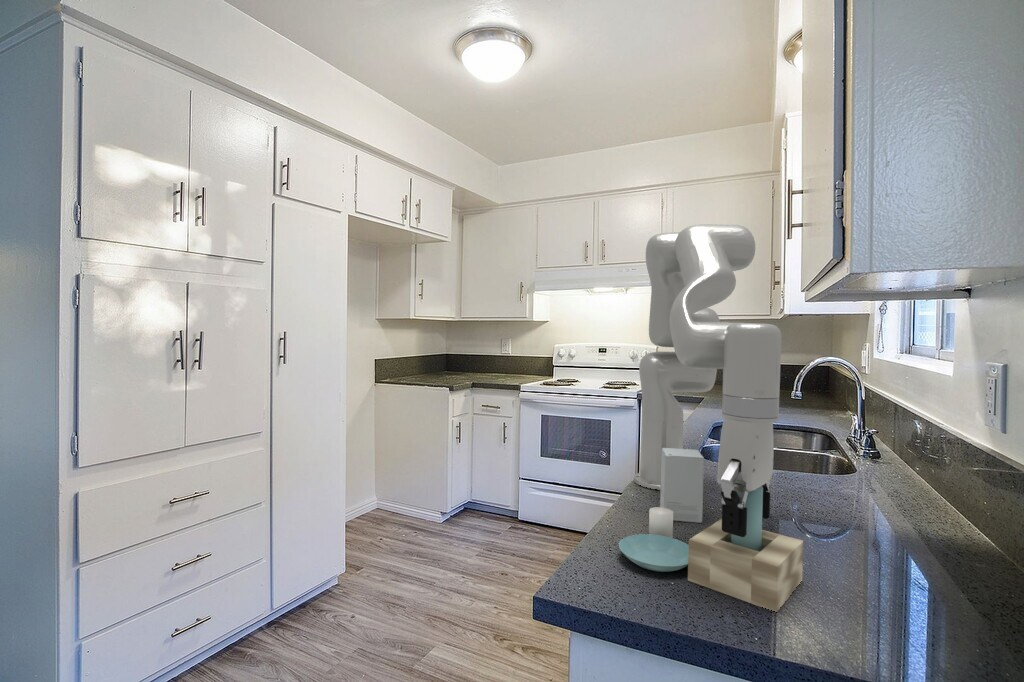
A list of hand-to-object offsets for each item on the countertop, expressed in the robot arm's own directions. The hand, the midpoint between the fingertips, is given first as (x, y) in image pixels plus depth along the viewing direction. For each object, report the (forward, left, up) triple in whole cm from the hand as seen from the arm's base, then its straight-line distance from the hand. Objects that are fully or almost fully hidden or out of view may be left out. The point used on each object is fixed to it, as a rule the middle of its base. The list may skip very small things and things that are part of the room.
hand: (746, 524), depth 75 cm
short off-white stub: (-5, -16, -8) cm, 19 cm away
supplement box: (-19, -19, -9) cm, 28 cm away
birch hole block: (0, 0, -8) cm, 8 cm away
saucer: (+4, -12, -9) cm, 15 cm away
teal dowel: (0, 0, -8) cm, 8 cm away
